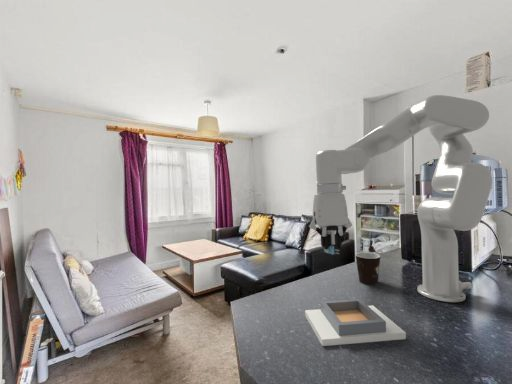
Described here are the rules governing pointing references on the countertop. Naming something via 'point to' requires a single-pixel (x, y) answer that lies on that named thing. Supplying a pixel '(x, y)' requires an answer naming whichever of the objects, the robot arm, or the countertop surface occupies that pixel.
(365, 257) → the coffee mug
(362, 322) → the dock board
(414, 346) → the countertop surface
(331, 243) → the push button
